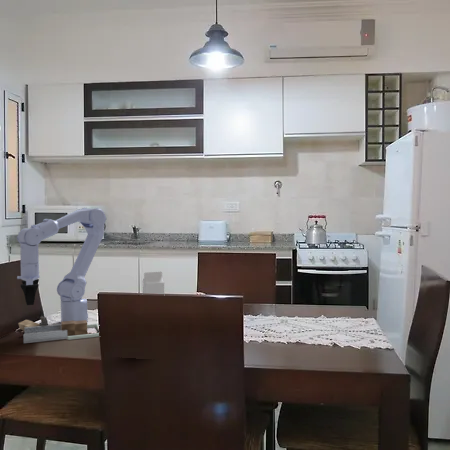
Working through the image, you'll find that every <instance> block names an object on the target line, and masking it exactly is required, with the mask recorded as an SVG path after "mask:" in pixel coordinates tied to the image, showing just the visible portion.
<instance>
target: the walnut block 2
mask: <svg viewBox="0 0 450 450" xmlns="http://www.w3.org/2000/svg"><path fill="white" fill-rule="evenodd" d="M74 323H75V335H85V334H88V328H87V325H88V322H87V321H86V320H82V321H74ZM75 335H74V336H75Z"/></svg>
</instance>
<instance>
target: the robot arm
mask: <svg viewBox="0 0 450 450" xmlns="http://www.w3.org/2000/svg"><path fill="white" fill-rule="evenodd" d="M106 220H107V217H106V214H105V212H104V210H103V209H102V208H99V207H95V208H93V207H91V208H90V207H89V208H87V207H82V208H80V209H76V210H74V211H72V212H70V213H68V214H66V215H63V216H62V217H60V218H57V219H55V220H54V219H51V218H44V219H43V220H42V222H39V223H37V224H31V225H30V228H28V227H27V228H26V227H24V228H22V229H21V230H20V231H19V232H18V234H17V236H16V240H17V242H18V243H19V246H20V248H19V250H20V255H19V256H20V275H17V277H16V279H17V280H21V284H20V288H21V290H22V292H23V296H24V298H25V305H26V306H34V304H35V300H36V294H37V290H38V288H39V286H40V284H39V281H40V278H41V277H40V263H39V261H40V260H39V258H40V256H39V245H40V243H41V242H42V241H44V240H46V239H48V238H50V237H53V236H55V235H57V234H58V233H59V230H60V229H62V228H64V227H68V226H70V225H72V224H75V223H77V222H79V223H80V224H81V225H82V227H83V228H84V230H85V231H86V234H87V236H86V238H85V240H84V242H83V244H82V246H81V248H80V250H79V253H78V255H77V257H76V259H75V262H74V264H73V265H72V268H71V269H70V272H69V273H67V274H65V275H64V277H63V279H62V280H61V281H60V282H59V283H58V285H57V286H56V293H57V294H58V296H60V297H59V298H60V323H61V322H62V321H73V320H74V321H82V320H86V321H87V323H88V322H89V320H88V319H89V313H88V300H87V298H83V297H84V295H85V293H86V285H87V281H86V278H85V277H86V276H87V273H88V270H89V268H90V266H91V264H92V262H93V259H94V257H95V255H96V253H97V251H98V249H99V246H100V244H101V242H102V239H103V238H104V231H105V223H106Z"/></svg>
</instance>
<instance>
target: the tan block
mask: <svg viewBox="0 0 450 450" xmlns="http://www.w3.org/2000/svg"><path fill="white" fill-rule="evenodd" d="M39 318H40V322H39V323H38V322H34V321H32V320H30V319H25V320H23V321H20V322H18V323H17V324H18V327H19V329H20V330H22V331H24V327H34V326H45V325H49V323H48V318H47V317H46V316H43V315H41V316H40V317H39Z"/></svg>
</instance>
